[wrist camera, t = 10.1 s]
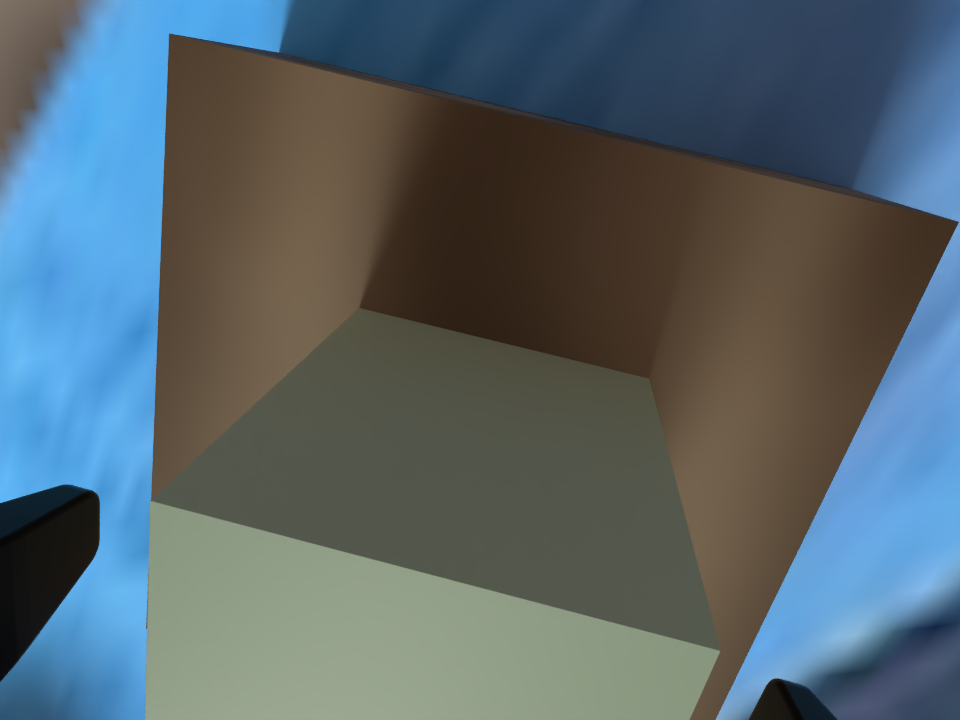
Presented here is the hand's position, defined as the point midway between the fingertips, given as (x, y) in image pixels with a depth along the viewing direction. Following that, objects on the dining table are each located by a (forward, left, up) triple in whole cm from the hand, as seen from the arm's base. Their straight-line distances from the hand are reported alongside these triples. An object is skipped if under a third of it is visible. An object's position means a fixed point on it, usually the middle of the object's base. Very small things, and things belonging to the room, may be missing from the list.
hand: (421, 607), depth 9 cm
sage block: (0, 0, -4) cm, 4 cm away
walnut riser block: (0, 0, -8) cm, 8 cm away
